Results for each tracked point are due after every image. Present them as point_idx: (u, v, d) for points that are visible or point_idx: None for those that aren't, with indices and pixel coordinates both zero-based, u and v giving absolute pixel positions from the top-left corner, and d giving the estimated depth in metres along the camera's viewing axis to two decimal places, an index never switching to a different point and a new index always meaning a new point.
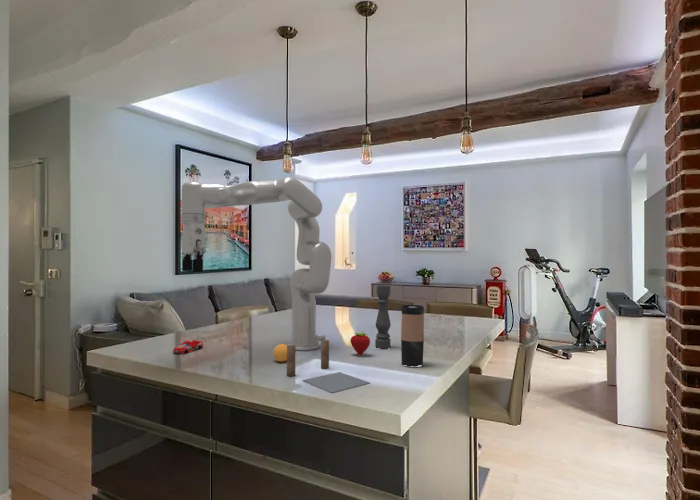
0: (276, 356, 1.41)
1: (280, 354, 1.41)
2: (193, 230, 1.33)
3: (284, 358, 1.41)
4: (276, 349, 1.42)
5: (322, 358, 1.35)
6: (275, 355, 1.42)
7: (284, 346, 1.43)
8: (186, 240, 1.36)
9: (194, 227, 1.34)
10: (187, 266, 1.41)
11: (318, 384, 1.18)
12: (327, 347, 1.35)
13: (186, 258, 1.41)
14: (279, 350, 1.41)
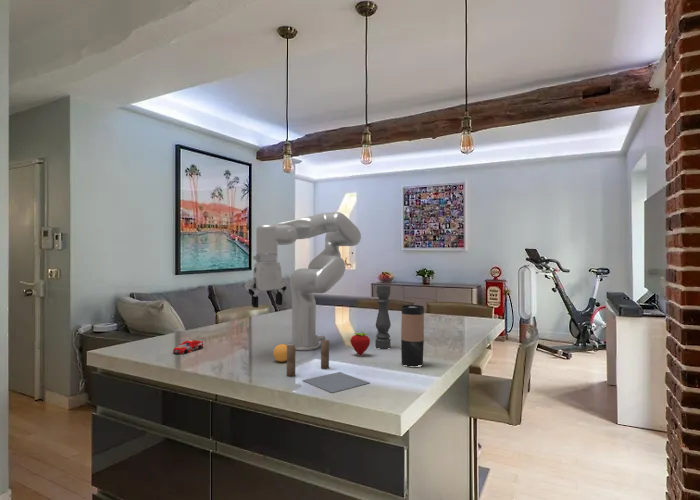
0: (276, 356, 1.41)
1: (280, 354, 1.41)
2: None
3: (284, 358, 1.41)
4: (276, 349, 1.42)
5: (322, 358, 1.35)
6: (275, 355, 1.42)
7: (284, 346, 1.43)
8: None
9: (254, 266, 1.49)
10: (277, 300, 1.54)
11: (318, 384, 1.18)
12: (327, 347, 1.35)
13: (277, 293, 1.54)
14: (279, 350, 1.41)
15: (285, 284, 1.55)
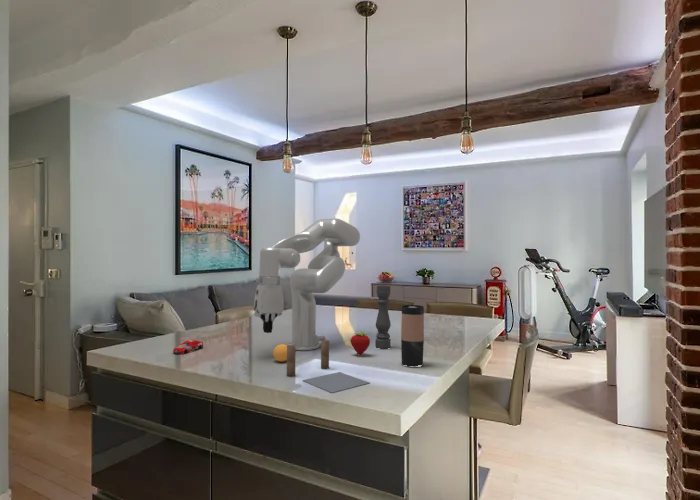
0: (276, 356, 1.41)
1: (280, 354, 1.41)
2: None
3: (284, 358, 1.41)
4: (276, 349, 1.42)
5: (322, 358, 1.35)
6: (275, 355, 1.42)
7: (284, 346, 1.43)
8: None
9: (256, 289, 1.49)
10: None
11: (318, 384, 1.18)
12: (327, 347, 1.35)
13: (268, 320, 1.51)
14: (279, 350, 1.41)
15: (278, 313, 1.52)
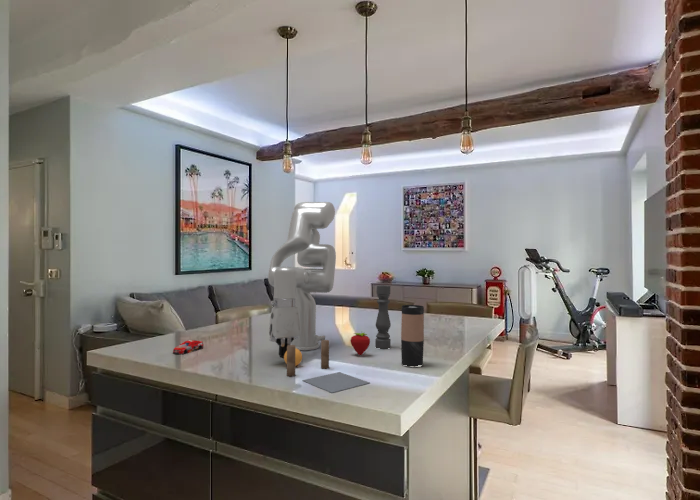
0: (284, 358, 1.37)
1: (286, 362, 1.38)
2: None
3: None
4: None
5: (322, 358, 1.35)
6: (284, 358, 1.37)
7: None
8: None
9: (271, 312, 1.40)
10: None
11: (318, 384, 1.18)
12: (327, 347, 1.35)
13: None
14: None
15: (294, 336, 1.44)
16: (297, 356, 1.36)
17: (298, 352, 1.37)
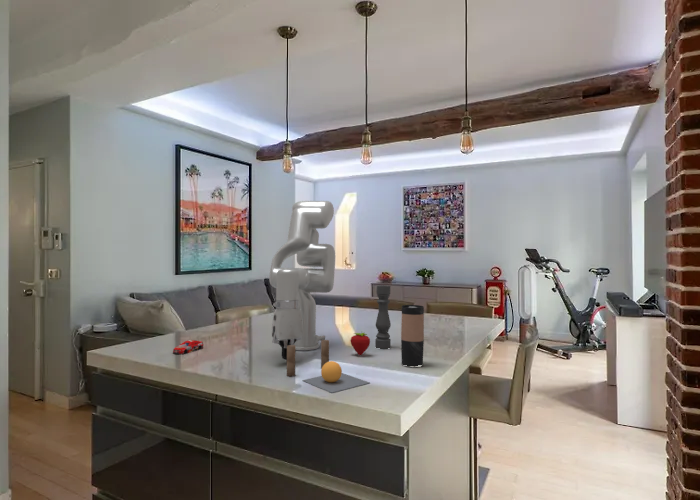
0: (322, 369, 1.20)
1: None
2: (273, 316, 1.40)
3: None
4: (323, 377, 1.20)
5: (322, 358, 1.35)
6: (322, 371, 1.20)
7: None
8: None
9: (274, 313, 1.40)
10: None
11: (318, 384, 1.18)
12: (327, 347, 1.35)
13: (286, 346, 1.42)
14: None
15: (297, 338, 1.44)
16: (335, 380, 1.19)
17: (339, 376, 1.19)
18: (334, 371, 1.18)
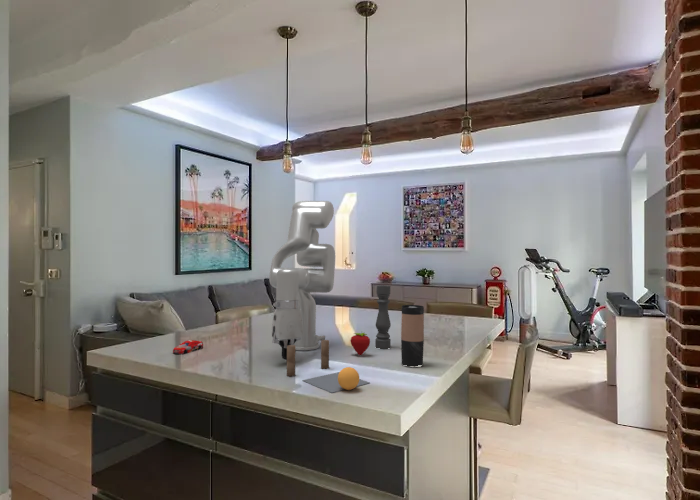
0: (343, 382, 1.12)
1: (348, 378, 1.12)
2: (273, 316, 1.40)
3: (353, 382, 1.12)
4: (341, 373, 1.13)
5: (322, 358, 1.35)
6: (341, 381, 1.12)
7: (350, 368, 1.14)
8: None
9: (274, 313, 1.40)
10: None
11: (318, 384, 1.18)
12: (327, 347, 1.35)
13: (286, 346, 1.42)
14: (345, 373, 1.12)
15: (297, 338, 1.44)
16: None
17: None
18: None
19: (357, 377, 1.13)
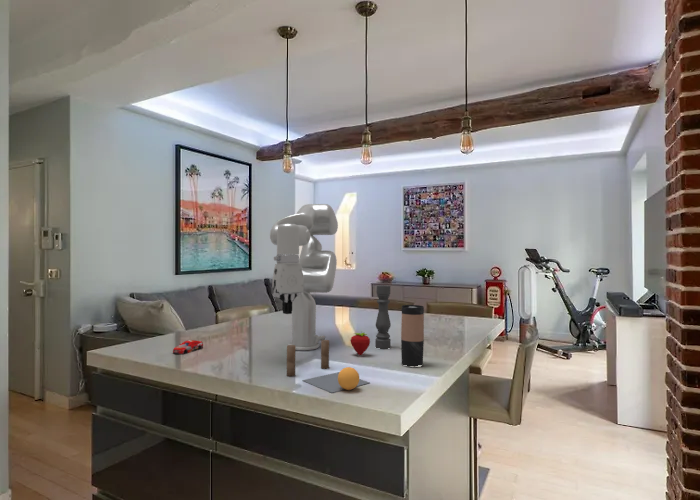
0: (343, 382, 1.12)
1: (348, 378, 1.12)
2: None
3: (353, 382, 1.12)
4: (341, 373, 1.13)
5: (322, 358, 1.35)
6: (341, 381, 1.12)
7: (350, 368, 1.14)
8: None
9: (274, 268, 1.40)
10: None
11: (318, 384, 1.18)
12: (327, 347, 1.35)
13: None
14: (345, 373, 1.12)
15: (298, 293, 1.44)
16: None
17: None
18: None
19: (357, 377, 1.13)
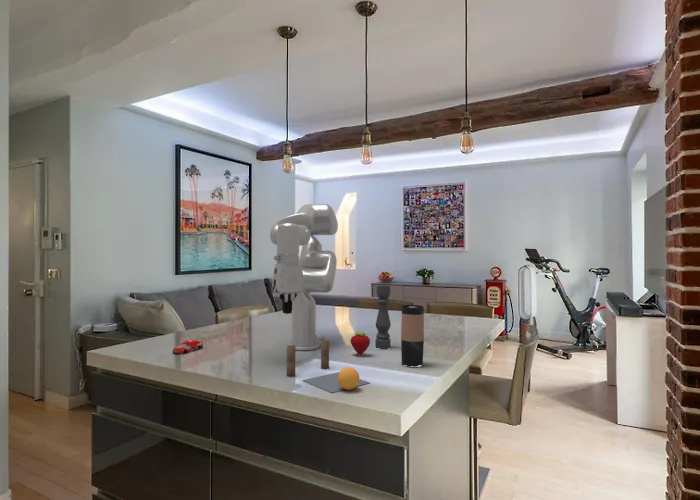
0: (343, 382, 1.12)
1: (348, 378, 1.12)
2: None
3: (353, 382, 1.12)
4: (341, 373, 1.13)
5: (322, 358, 1.35)
6: (341, 381, 1.12)
7: (350, 368, 1.14)
8: None
9: (274, 267, 1.40)
10: None
11: (318, 384, 1.18)
12: (327, 347, 1.35)
13: None
14: (345, 373, 1.12)
15: (297, 293, 1.44)
16: None
17: None
18: None
19: (357, 377, 1.13)
